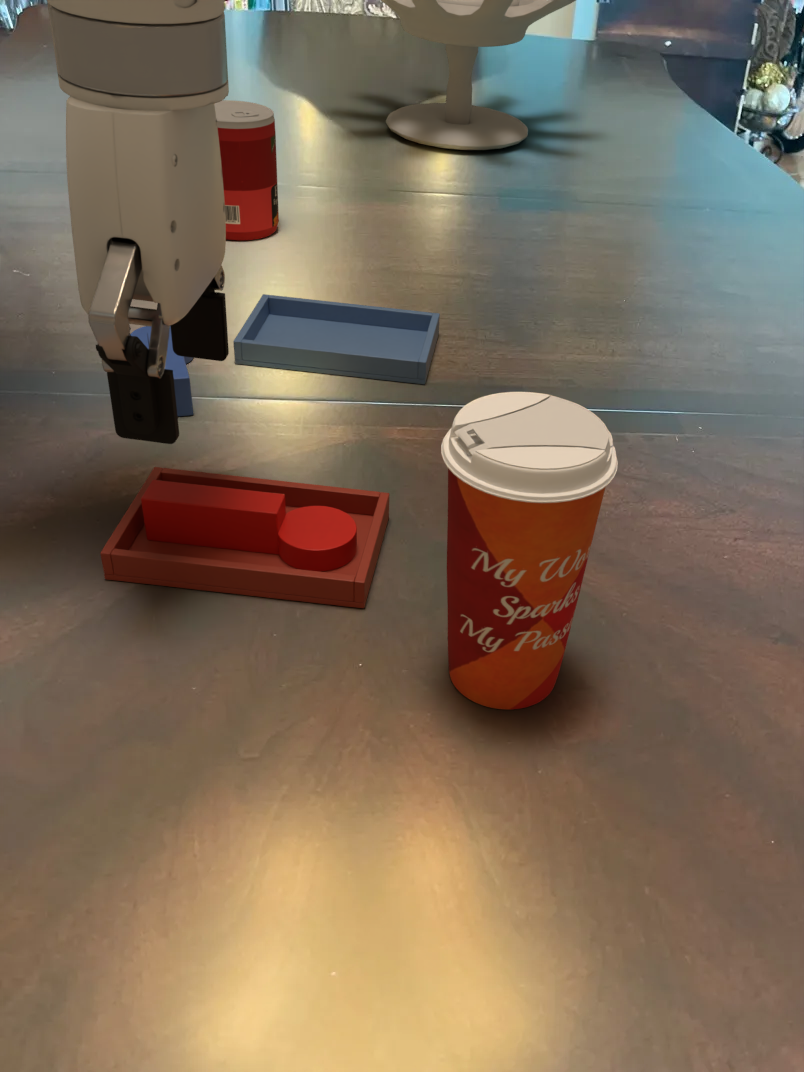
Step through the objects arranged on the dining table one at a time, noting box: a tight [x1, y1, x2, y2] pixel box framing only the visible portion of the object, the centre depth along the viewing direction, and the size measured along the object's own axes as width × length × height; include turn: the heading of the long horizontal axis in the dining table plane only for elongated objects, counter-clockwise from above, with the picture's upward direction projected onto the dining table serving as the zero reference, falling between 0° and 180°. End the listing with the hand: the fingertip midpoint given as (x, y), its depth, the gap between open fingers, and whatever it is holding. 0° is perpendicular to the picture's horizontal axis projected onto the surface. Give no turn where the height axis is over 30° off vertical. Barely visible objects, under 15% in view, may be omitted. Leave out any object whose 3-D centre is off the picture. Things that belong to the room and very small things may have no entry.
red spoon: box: [141, 480, 357, 572], centre depth 63 cm, size 13×5×3 cm, turn 85°
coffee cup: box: [440, 391, 619, 710], centre depth 53 cm, size 8×8×15 cm
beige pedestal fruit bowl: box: [380, 0, 577, 151], centre depth 130 cm, size 34×35×27 cm
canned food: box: [214, 99, 280, 241], centre depth 103 cm, size 8×8×11 cm
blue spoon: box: [130, 326, 194, 417], centre depth 80 cm, size 13×5×3 cm, turn 19°
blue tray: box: [232, 293, 441, 385], centre depth 86 cm, size 15×10×2 cm, turn 85°
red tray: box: [99, 466, 391, 609], centre depth 64 cm, size 15×10×2 cm, turn 85°
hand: (176, 394), depth 59 cm, fingers open, 9 cm apart
